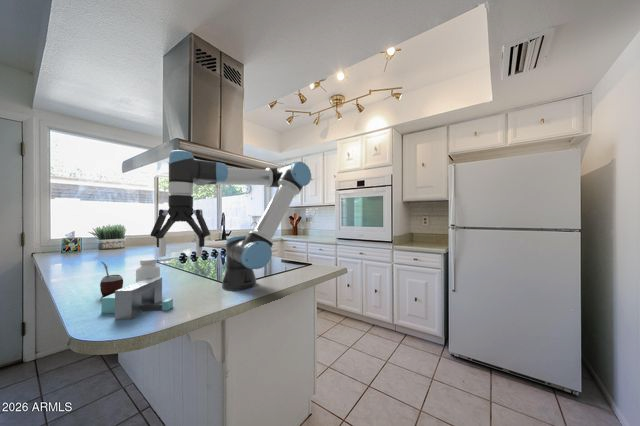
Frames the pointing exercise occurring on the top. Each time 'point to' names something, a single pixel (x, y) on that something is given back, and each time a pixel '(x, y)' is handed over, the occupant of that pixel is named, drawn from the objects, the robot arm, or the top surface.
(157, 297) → the grey bridge block
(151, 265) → the pill bottle
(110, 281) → the mate gourd
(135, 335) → the top surface
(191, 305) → the top surface
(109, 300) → the teal and grey bar
